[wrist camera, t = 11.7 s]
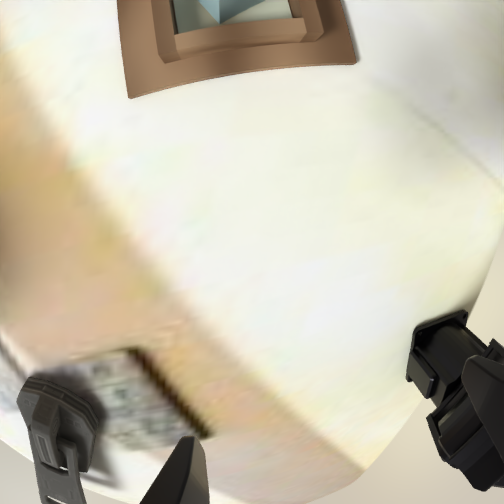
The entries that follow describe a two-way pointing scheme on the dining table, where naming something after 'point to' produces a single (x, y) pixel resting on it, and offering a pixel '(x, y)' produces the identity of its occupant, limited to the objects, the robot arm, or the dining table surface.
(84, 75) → the dining table surface
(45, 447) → the zipper pull
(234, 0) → the pale blue rectangular block
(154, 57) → the picture frame
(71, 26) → the dining table surface
